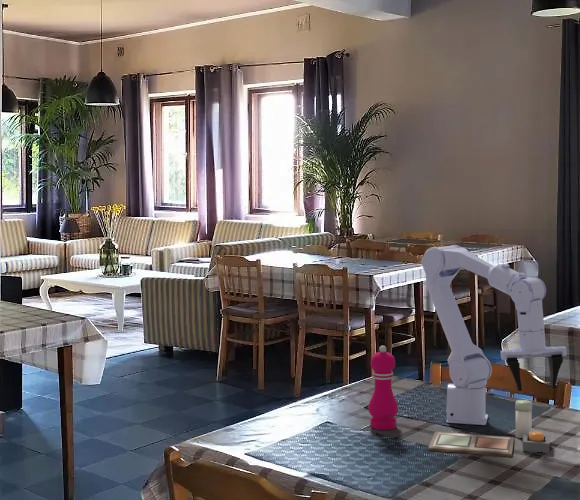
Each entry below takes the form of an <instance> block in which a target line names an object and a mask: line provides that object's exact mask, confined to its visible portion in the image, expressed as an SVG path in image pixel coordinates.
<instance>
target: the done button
mask: <svg viewBox="0 0 580 500" xmlns="http://www.w3.org/2000/svg"><path fill="white" fill-rule="evenodd" d="M544 436H545V433H543V432H542V431H538V430H537V431H535V430H533V431H532V432H529V441H537V442H544Z"/></svg>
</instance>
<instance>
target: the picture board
mask: <svg viewBox="0 0 580 500" xmlns="http://www.w3.org/2000/svg"><path fill="white" fill-rule="evenodd" d="M434 431H435V430H434ZM514 443H515V436H502V435H488V434H486V435H485V434H475V433H462V432H461V433H460V432H459V433H458V432H448V431H447V432H446V431H435V432H434V434H433V436H432V439H430V443H429V446H428V448H427V449H428V451H434V452H435V451H436V452H447V453H449V452H450V453H461V454H472V455H483V456H495V457H496V456H497V457H510V458H511V457H512V456H513V451H514V450H513V448H514Z"/></svg>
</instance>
